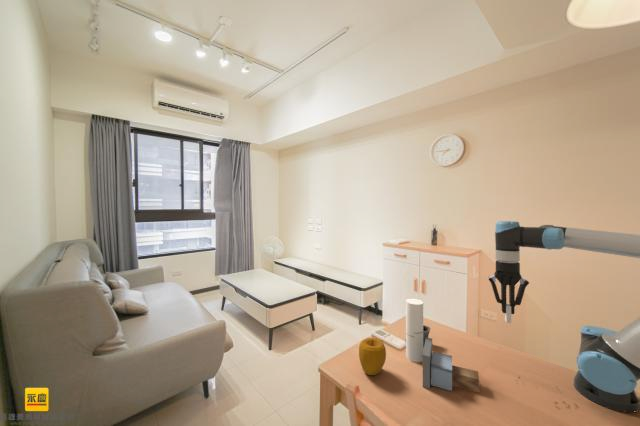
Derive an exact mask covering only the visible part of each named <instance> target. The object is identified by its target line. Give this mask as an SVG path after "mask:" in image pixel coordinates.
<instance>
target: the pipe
mask: <svg viewBox="0 0 640 426" xmlns="http://www.w3.org/2000/svg"><path fill="white" fill-rule="evenodd" d="M430 332H431V326H428V325H425V324H423V347H424V345H425V340H426V337H427V338H429V334H430ZM405 342H406V339H405Z"/></svg>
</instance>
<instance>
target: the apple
mask: <svg viewBox="0 0 640 426" xmlns="http://www.w3.org/2000/svg"><path fill="white" fill-rule="evenodd" d="M358 358H359V362H360V366H361V369H362V370H363V372H364V373H365V374H366V375H369V376H375V375H378V374H379V373H380V372H381V371H382V368H383V367H384V365H385V362H386V359H387V350H386V346H385V344H384V342H383V341H382V340H380V339H379V338H375V337H367V338H364V339H363V340H361V341H360V343H359V347H358Z"/></svg>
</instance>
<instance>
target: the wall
mask: <svg viewBox="0 0 640 426" xmlns="http://www.w3.org/2000/svg"><path fill="white" fill-rule="evenodd" d="M432 353H433V338H430V337H428V338H427V337H426V340H425V345H424V346H423V361H422V387H423V388H425V389H428V390H430V389H431V361H432Z"/></svg>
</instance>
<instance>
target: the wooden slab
mask: <svg viewBox="0 0 640 426" xmlns="http://www.w3.org/2000/svg"><path fill="white" fill-rule="evenodd" d="M452 387H458V388H461V389H465V390H468V391H472V392H475V393H480V376H479V371H477V370H473V369H470V368H466V367H462V366H457V365H454V364H452Z"/></svg>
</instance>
